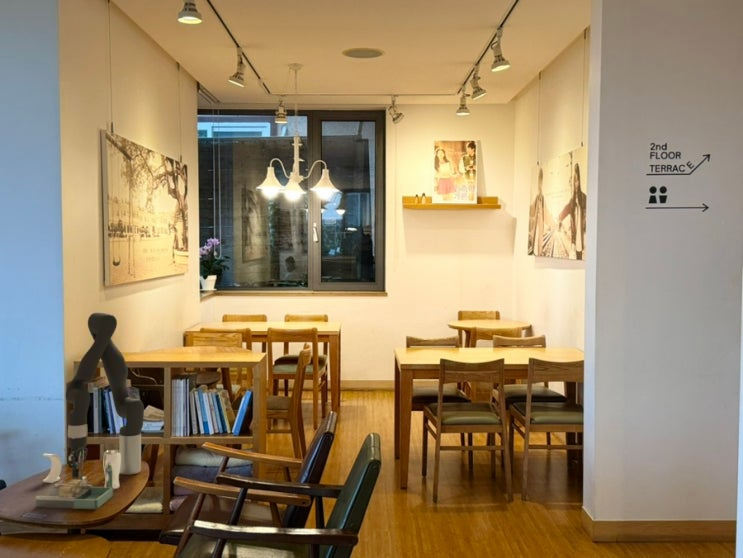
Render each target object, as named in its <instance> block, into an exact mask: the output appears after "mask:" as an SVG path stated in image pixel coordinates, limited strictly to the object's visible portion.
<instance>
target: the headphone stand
mask: <svg viewBox="0 0 743 558" xmlns="http://www.w3.org/2000/svg"><path fill="white" fill-rule="evenodd" d="M42 456H43V457H46V458H47V457H48V458H49V459H50V462H51V468H50V470H49V471H50V472H49V473H48V475H47V476H46V477H45V479H42V481H43V483H50V484H53V483H55V482H57V481H60V480H61V477H60V474H61V472H62V468H63V467H62V466H63V463H62V459H61V457H60V456H59V455H58V454H54V453H53V454H52V453H43V454H42Z"/></svg>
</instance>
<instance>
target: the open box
mask: <svg viewBox="0 0 743 558" xmlns="http://www.w3.org/2000/svg"><path fill="white" fill-rule="evenodd" d="M64 484H65V483H55V484H54V487H52V488H51V489H50V490H48V491H47V492H45V493H44V494H42V495H35V507H36V508H44V509H45V508H49V509H69V510H70V509H72V510H73V509H74V499H86V498H87V497H88V496H90V495H91V487H93V485H92V484H86V485H82V490H81V491H79V492H78V493H74V495H73V496H72V497H59V488H60V487H61V486H63V485H64ZM74 510H75V509H74Z"/></svg>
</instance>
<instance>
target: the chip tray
mask: <svg viewBox="0 0 743 558" xmlns="http://www.w3.org/2000/svg"><path fill="white" fill-rule="evenodd" d="M113 497H114V489H113V487H104V486H92V487H91V495H90V496H88V497H87V498H86V499H74V510H77V509H78V510H95V511H96V510H98V509H100V507H102V506H103V505H104V504H105V503H107V502H108V501H109V500H111V499H112V498H113Z"/></svg>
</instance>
